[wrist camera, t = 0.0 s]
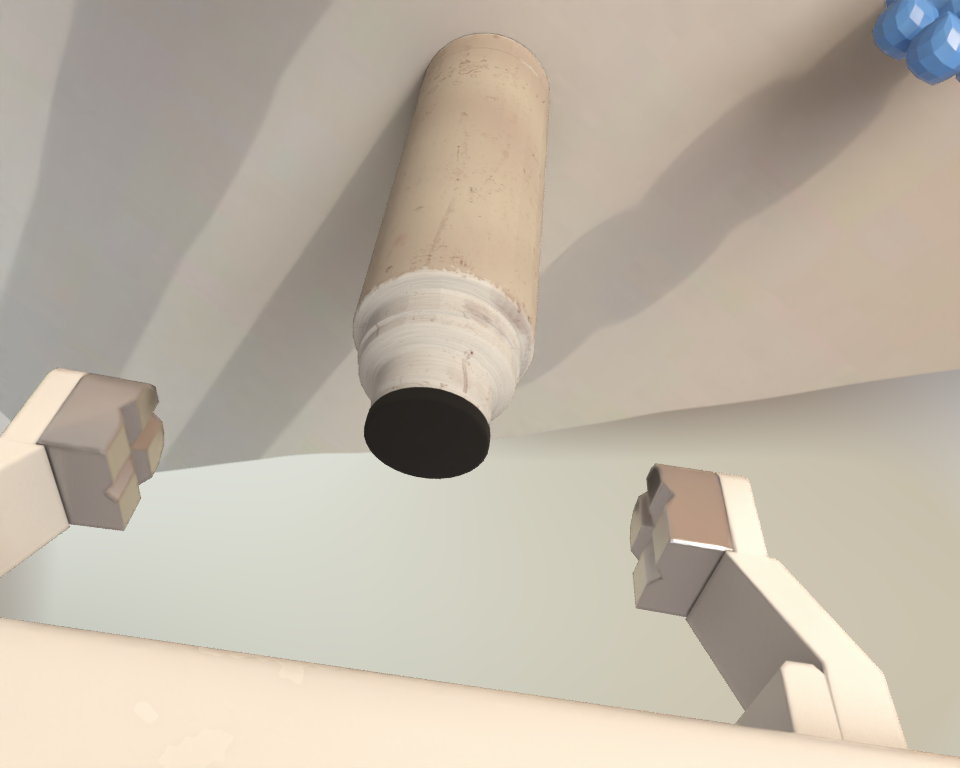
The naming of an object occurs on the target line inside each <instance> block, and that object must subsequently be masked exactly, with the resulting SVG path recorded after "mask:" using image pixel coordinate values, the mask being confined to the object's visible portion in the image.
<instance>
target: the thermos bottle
mask: <svg viewBox="0 0 960 768" xmlns="http://www.w3.org/2000/svg"><path fill="white" fill-rule="evenodd" d="M549 103H550V100H549V86H548V81H547V77H546V75H545V73H544V71H543V68H542V66H541V65H540V63H539V62H538V61H537V59H536V58H535V56H534V55H533V54H531V53H530V52H529V51H528V50H527V49H526V48H525V47H524V46H522V45H520V44H519V43H517V42H515V41H514V40H512V39H509V38H506V37H504V36H501V35H495V34H489V33H485V34H472V35H468V36H464V37H461V38H459V39H457V40H454V41H452V42H450V43H449V44H448V45H446V46H445V47H444V48H442V49H441V50H440V51H439V52H438V53H437V55H436V56H435V57H434V58H433V59H432V61H431V63H430V65H429V67H428V69H427V71H426V74H425V77H424V80H423V83H422V86H421V90H420V93H419V97H418V100H417V104H416V108H415V112H414V115H413V118H412V122H411V125H410V128H409V132H408V135H407V139H406V142H405V145H404V149H403V152H402V156H401V159H400V162H399V166H398V169H397V173H396V176H395V179H394V183H393V186H392V190H391V193H390V196H389V200H388V203H387V207H386V210H385V214H384V217H383V220H382V224H381V227H380V231H379V234H378V237H377V241H376V244H375V248H374V251H373V254H372V258H371V261H370V265H369V268H368V271H367V275H366V278H365V282H364V285H363V288H362V292H361V295H360V299H359V302H358V306H357V309H356V312H355V316H354V319H353V338H354V342H355V346H356V349H357V351H358V365H359V378H360V382H361V385H362V387H363V389H364V391H365V393H366V394H367V396H368V397H369V398H370V400H371V408H370V409H369V412H368V415H367V418H366V422H365V427H364V437H365V440H366V444H367V445H368V447H369V449H370V451H371V452H372V453H373V454H374V455H375V456H376V457H377V458H378V459H379V460H380V461H382V462H383V463H384V464H386V465H388V466H389V467H391V468H393V469H395V470H397V471H400V472H402V473H404V474H408V475H412V476H416V477H422V478H430V479H433V478H434V479H441V478H451V477H455V476H459V475H462V474H465V473H467V472H470V471H472V470H473V469H475V468H476V467H478V466H479V464H481V463H482V462H483V461H484V459H485V457H486V455H487V453H488V449H489V443H490V427H489V425H490V421H492V420H493V419H495V418H496V417H497V416H499V415H500V414H501V413H502V412H503V411H504V410H505V409H506V408H507V406H508V405H509V403H510V401H511V399H512V397H513V393H514V389H515V386H516V384H517V382H518V381H519V380H520V379H521V378H522V376H523V375H524V374H525V373H526V371H527V369H528V367H529V365H530V364H531V361H532V357H533V353H534V348H535V333H536V317H537V300H538V284H539V267H540V251H541V235H542V218H543V202H544V185H545V168H546V152H547V136H548V120H549Z"/></svg>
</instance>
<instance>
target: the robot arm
mask: <svg viewBox="0 0 960 768" xmlns="http://www.w3.org/2000/svg"><path fill="white" fill-rule="evenodd" d="M158 402H159V401H158V396H157V392H156V387H155V386H153V385H151V384H148V383H142V382H137V381H131V380H126V379H120V378H115V377H110V376H104V375H99V374H93V373H84V372H79V371H73V370H68V369H63V368H56V369H54V370H52V371H50V372H49V373H48V374H47V375H46V376H45V378H44V379H43V380H42V381H41V383H40V384H39V385H38V387H37V388H36V389H35V391H34V392H33V393H32V395H31V396H30V397H29V399H28V400H27V401H26V403H25V404H24V405H23V407H22V408H21V409H20V411H19V412H18V413H17V415H16V416H15V417H14V419H13V420H12V421H11V423H10V424H9V426H8V427H7V428H6V429H5V431H4V432H3V433H2V434H1V436H0V578H1V577H2V576H4V575H5V574H6V573H8V572H9V571H11V570H12V569H13V568H15V567H16V566H17V565H19V564H20V563H21V562H23V561H24V560H25V559H27V558H28V557H29V556H31V555H32V554H34V553H35V552H36V551H38V550H39V549H40V548H42V547H43V546H45V545H46V544H47V543H49V542H50V541H51V540H53V539H54V538H56V537H57V536H58V535H60V534H61V533H62V532H64V531H65V530H66V529H68V528H69V527H70V526H69V524H73V525H81V526H90V527H97V528H105V529H113V530H122V531H124V530H125V528H126V526H127V524H128V522H129V520H130V518H131V516H132V515H133V513H134V511H135V509H136V507H137V505H138V503H139V501H140V499H141V496H140V491H139V486H138V485H140V484H141V483H143V482H145V481H146V480H148V479H150V478H151V477H152V476H153V474H154V472H155V470H156V468H157V466H158V464H159V461H160V457H161V453H162V449H163V442H164V430H163V424H162V421H161V420H160V419H159V418H158V417H157V416H156V415H155V414H154V413H153V411H154V410H155V408H156V406H157V404H158ZM647 490H648V491H647V492H645V493H644V494H642V495H640V496H639V497H638V500H637V502H636V505H635V507H634V510H633V515H632V520H631V526H630V544H631V551H632V553H633V554H634V555H635V556H636V558H637V559H638V560H639V561H638V563H637V565H636V567H635V570H634V572H633V581H634V593H635V604H636V608H638V609H644V610H649V611H655V612H661V613H667V614H673V615H678V616H683V617H687V618H686V621H687V622H688V624H689V625H690V627H691V628H692V630H693V632H694V633H695V635H696V636H697V638H698V639H699V641H700V642H701V644H702V645H703V647H704V649H705V650H706V652H707V653H708V654H709V656H710V658H711V659H712V661H713V662H714V664H715V665H716V667H717V668H718V670H719V672H720V673H721V675H722V676H723V678H724V679H725V681H726V683H727V684H728V686H729V687H730V689H731V690H732V692H733V693H734V695H735V696H736V698H737V700H738V701H739V703H740V704H741V706H742V707H743V709H744V710H745V712H744V714H743V715H742V716H741V717H740V718H739V720H738V721H737V722H736V724H730V723H723V722H716V721H709V720H702V719H696V718H688V717H682V716H674V715H668V714H661V713H655V712H648V711H641V710H634V709H626V708H620V707H613V706H607V705H600V704H593V703H586V702H579V701H572V700H565V699H558V698H551V697H544V696H538V695H530V694H524V693H517V692H510V691H503V690H496V689H488V688H482V687H475V686H468V685H461V684H454V683H447V682H441V681H434V680H427V679H419V678H413V677H405V676H399V675H392V674H384V673H378V672H371V671H365V670H358V669H351V668H344V667H338V666H331V665H324V664H317V663H310V662H303V661H297V660H289V659H282V658H276V657H269V656H262V655H255V654H249V653H242V652H235V651H228V650H221V649H215V648H208V647H201V646H194V645H187V644H180V643H173V642H167V641H160V640H153V639H146V638H139V637H132V636H125V635H118V634H112V633H105V632H98V631H91V630H84V629H77V628H70V627H63V626H56V625H50V624H43V623H35V622H29V621H22V620H16V619H8V618H2V617H0V768H960V757H956V756H949V755H942V754H935V753H929V752H922V751H915V750H908V747H907V744H906V741H905V738H904V735H903V732H902V729H901V726H900V723H899V719H898V716H897V714H896V710H895V707H894V704H893V701H892V698H891V695H890V692H889V689H888V686H887V683H886V680H885V677H884V674H883V673H882V671H881V670H880V669H879V668H878V667H877V666H876V665H875V664H874V663H873V662H872V661H871V660H870V658H869V657H868V656H867V655H866V654H865V653H864V652H863V651H862V650H861V649H860V648H859V647H858V646H857V645H856V643H854V642H853V640H852V639H851V638H850V637H849V636H848V635H847V634H846V633H845V632H844V630H843V629H841V627H840V626H839V625H838V624H837V623H836V622H835V621H834V620H833V619H832V618H831V616H830V615H829V614H828V613H827V612H826V611H825V610H824V609H823V608H822V607H821V606H820V605H819V604H818V602H817V601H816V600H815V599H814V598H813V597H812V596H811V595H810V594H809V593H808V592H807V591H806V590H805V588H804V587H803V586H802V585H801V584H800V583H799V582H798V581H797V580H796V579H795V578H794V577H793V576H792V575H791V573H790V572H789V571H788V570H787V569H786V568H785V567H784V566H783V565H782V564H781V563H780V562H779V561H778V559H774V558H769V557H768V554H767V550H766V546H765V542H764V538H763V534H762V530H761V526H760V522H759V518H758V514H757V510H756V506H755V502H754V498H753V494H752V490H751V485H750V482H749V481H748V479H747V478H746V477H743V476H737V475H730V474H724V473H713V472H710V471H703V470H696V469H690V468H683V467H676V466H669V465H662V464H655V465H654V466H653V467H652V468H651V470H650V472H649V474H648V476H647Z"/></svg>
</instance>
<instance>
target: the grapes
mask: <svg viewBox="0 0 960 768" xmlns="http://www.w3.org/2000/svg"><path fill="white" fill-rule="evenodd" d="M885 8H886V9H885V10H884V11H883V12H882V13H881V14H880V15H879V17H878V19H877V21H876V24H875V26H874V28H873V31H872V32H873V37H874V43H875V44H876V45H877V47H878V48H879V49H880V50H881V51H882V52H883V53H885V54H886V55H888V56H890V57H892V58H894V59H896V60H898V61H900V60H902V59H904V58H906V62H907V67H908V69H909V70H910V71H911V72H912V73H913V74H914V75H915V76H916V77H917V78H919V79H920V80H922V81H924V82H926V83H928V84H930V85H935V84H938V83H941V82H943V81H945V80H947V79H949V78H950V77H952V76H954V75H956V79H957V80H958V81H959V82H960V0H886V1H885Z"/></svg>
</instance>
